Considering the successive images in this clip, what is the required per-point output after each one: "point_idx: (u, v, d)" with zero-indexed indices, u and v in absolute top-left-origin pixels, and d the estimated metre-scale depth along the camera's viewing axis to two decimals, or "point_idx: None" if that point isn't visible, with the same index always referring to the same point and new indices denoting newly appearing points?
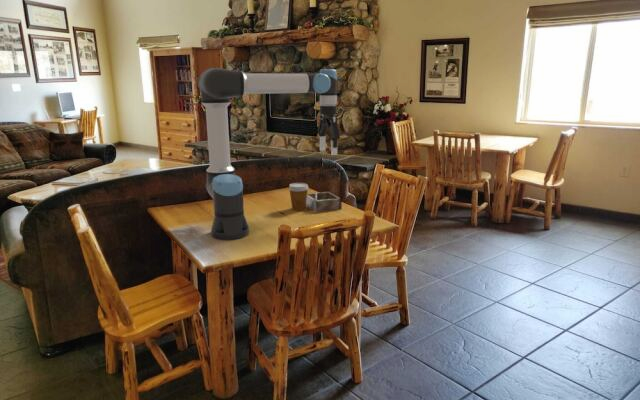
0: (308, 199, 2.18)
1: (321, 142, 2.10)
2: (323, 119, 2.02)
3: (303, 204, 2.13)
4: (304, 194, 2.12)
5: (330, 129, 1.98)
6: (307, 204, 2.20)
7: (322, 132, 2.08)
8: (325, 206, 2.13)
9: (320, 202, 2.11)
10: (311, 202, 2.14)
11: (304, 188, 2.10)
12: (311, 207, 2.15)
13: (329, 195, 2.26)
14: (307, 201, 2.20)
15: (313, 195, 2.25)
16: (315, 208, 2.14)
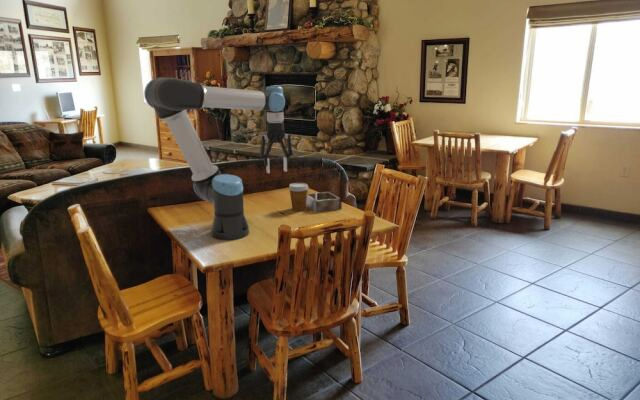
0: (308, 199, 2.18)
1: None
2: None
3: (303, 204, 2.13)
4: (304, 194, 2.12)
5: (267, 146, 2.04)
6: (307, 204, 2.20)
7: (283, 151, 2.07)
8: (325, 206, 2.13)
9: (320, 202, 2.11)
10: (311, 202, 2.14)
11: (304, 188, 2.10)
12: (311, 207, 2.15)
13: (329, 195, 2.26)
14: (307, 201, 2.20)
15: (313, 195, 2.25)
16: (315, 208, 2.14)
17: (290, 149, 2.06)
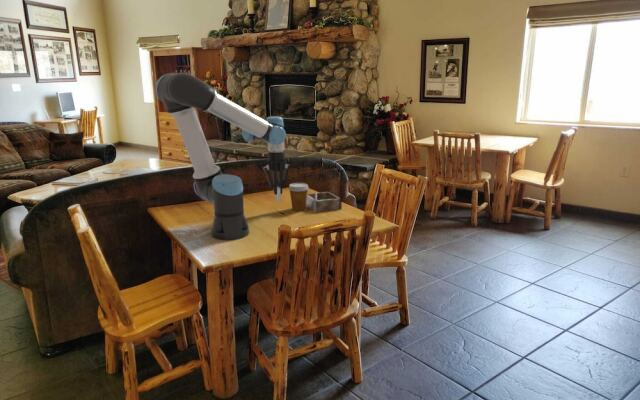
0: (308, 199, 2.18)
1: None
2: None
3: (303, 204, 2.13)
4: (304, 194, 2.12)
5: None
6: (307, 204, 2.20)
7: (278, 180, 2.10)
8: (325, 206, 2.13)
9: (320, 202, 2.11)
10: (311, 202, 2.14)
11: (304, 188, 2.10)
12: (311, 207, 2.15)
13: (329, 195, 2.26)
14: (307, 201, 2.20)
15: (313, 195, 2.25)
16: (315, 208, 2.14)
17: (285, 179, 2.09)
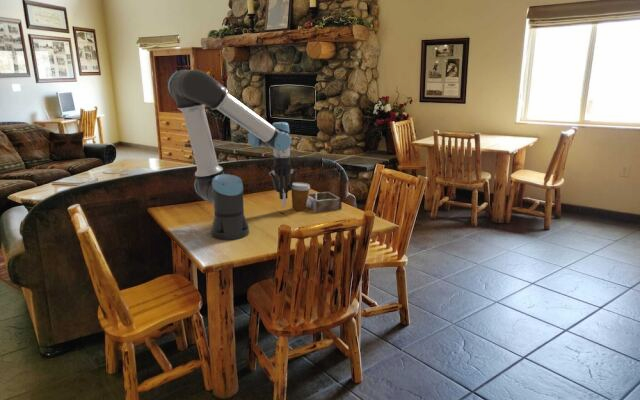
0: (308, 199, 2.18)
1: None
2: None
3: (303, 204, 2.13)
4: (305, 194, 2.12)
5: (278, 181, 2.10)
6: (307, 204, 2.20)
7: (284, 185, 2.11)
8: (325, 206, 2.13)
9: (320, 202, 2.11)
10: (311, 202, 2.14)
11: (306, 188, 2.11)
12: (311, 207, 2.15)
13: (329, 195, 2.26)
14: (307, 201, 2.20)
15: (313, 195, 2.25)
16: (315, 208, 2.14)
17: (290, 184, 2.11)
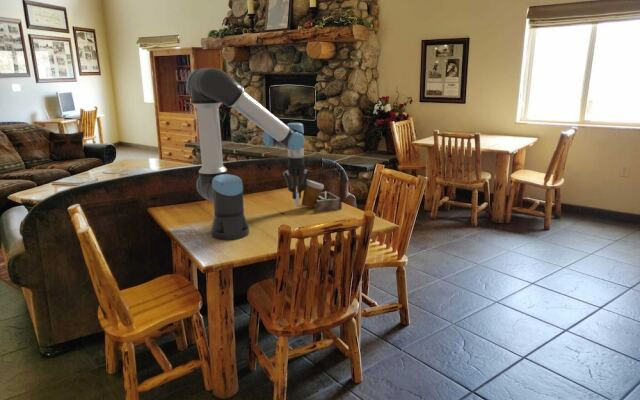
0: None
1: None
2: None
3: (314, 202, 2.15)
4: (318, 192, 2.14)
5: None
6: None
7: (297, 185, 2.14)
8: (325, 206, 2.13)
9: (320, 202, 2.11)
10: None
11: (320, 186, 2.13)
12: None
13: (329, 195, 2.26)
14: None
15: None
16: None
17: (304, 184, 2.13)
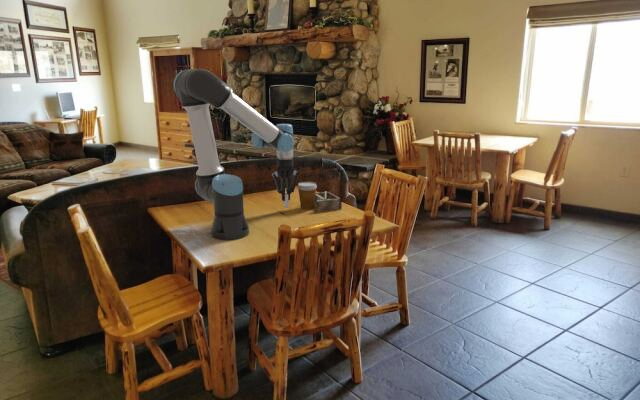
0: (317, 198, 2.20)
1: None
2: None
3: (311, 203, 2.15)
4: (313, 193, 2.13)
5: (281, 182, 2.11)
6: None
7: (286, 187, 2.12)
8: (325, 206, 2.13)
9: (320, 202, 2.11)
10: None
11: (313, 187, 2.12)
12: None
13: (329, 195, 2.26)
14: None
15: None
16: None
17: (293, 186, 2.11)
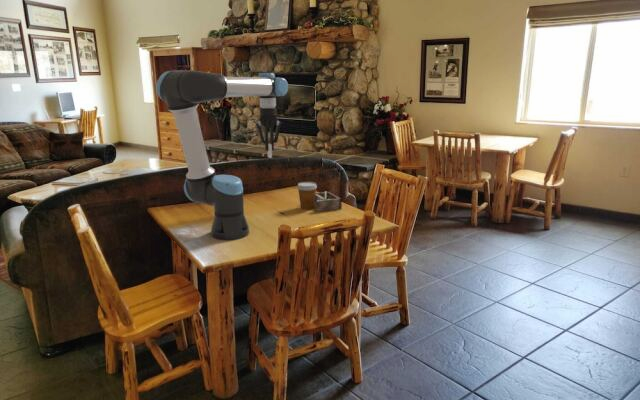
0: (317, 198, 2.20)
1: None
2: None
3: (311, 203, 2.15)
4: (313, 193, 2.13)
5: (264, 132, 2.13)
6: None
7: (270, 137, 2.14)
8: (325, 206, 2.13)
9: (320, 202, 2.11)
10: None
11: (313, 187, 2.12)
12: None
13: (329, 195, 2.26)
14: None
15: None
16: None
17: (277, 136, 2.14)
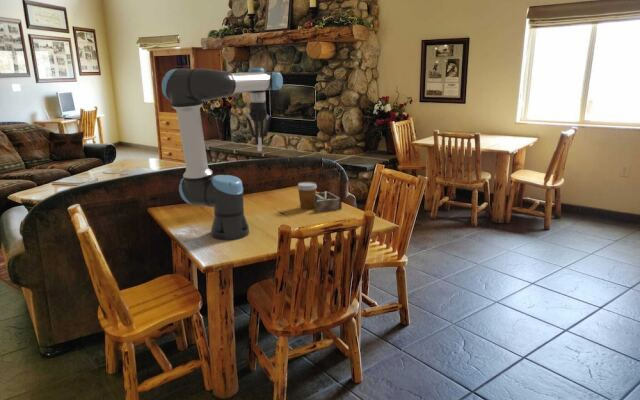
0: (317, 198, 2.20)
1: None
2: None
3: (311, 203, 2.15)
4: (313, 193, 2.13)
5: (254, 126, 2.18)
6: None
7: (260, 131, 2.19)
8: (325, 206, 2.13)
9: (320, 202, 2.11)
10: None
11: (313, 187, 2.12)
12: None
13: (329, 195, 2.26)
14: None
15: None
16: None
17: (266, 130, 2.18)
